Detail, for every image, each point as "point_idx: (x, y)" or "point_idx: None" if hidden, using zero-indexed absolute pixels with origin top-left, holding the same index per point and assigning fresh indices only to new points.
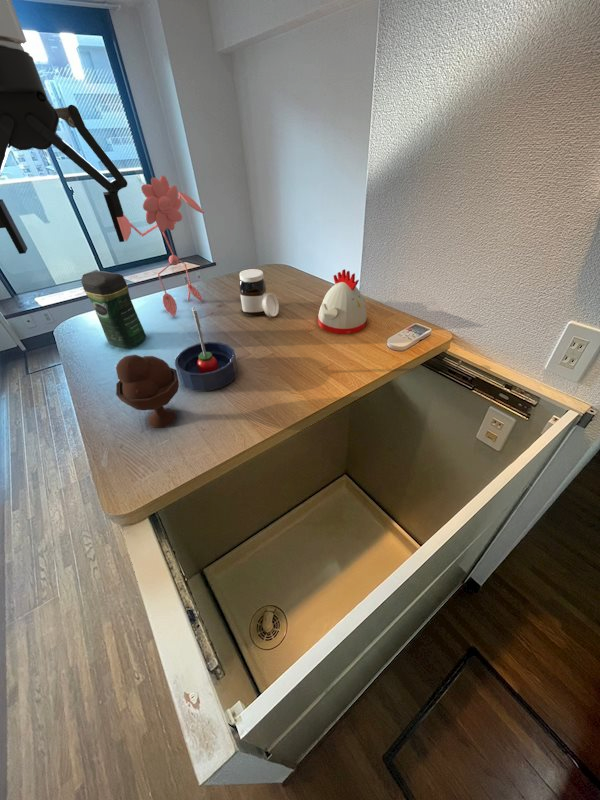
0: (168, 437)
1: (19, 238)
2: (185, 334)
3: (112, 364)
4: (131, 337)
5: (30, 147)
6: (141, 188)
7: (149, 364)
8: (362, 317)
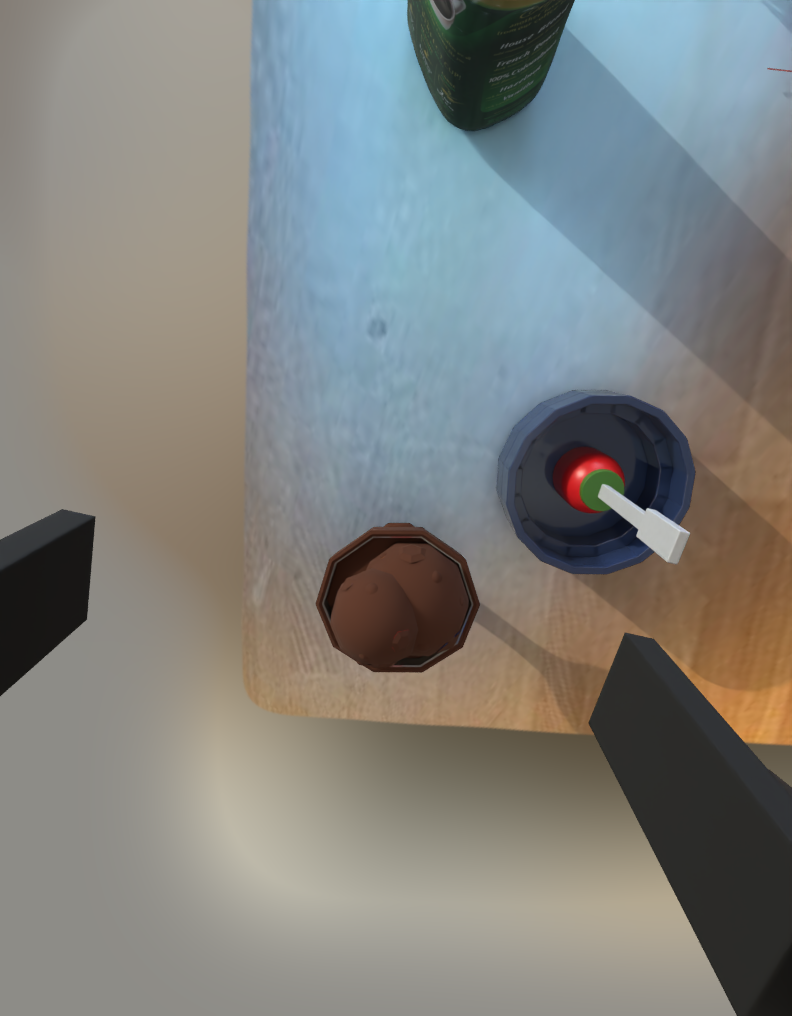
0: None
1: (42, 620)
2: (668, 166)
3: (374, 195)
4: (484, 114)
5: None
6: None
7: (416, 644)
8: None
